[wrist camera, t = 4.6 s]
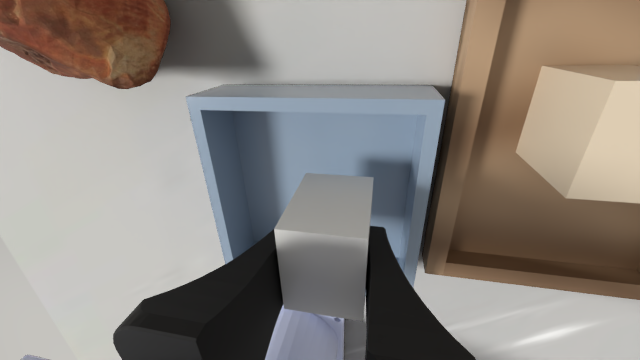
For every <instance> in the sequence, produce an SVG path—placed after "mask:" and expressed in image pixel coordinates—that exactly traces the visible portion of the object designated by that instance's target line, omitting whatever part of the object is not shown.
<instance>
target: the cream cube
mask: <svg viewBox="0 0 640 360" xmlns="http://www.w3.org/2000/svg"><path fill="white" fill-rule="evenodd" d="M516 153H517V154H518V155H519V156H520V157H521V158H522V159H523V160H525V161H526V162H527V163H528V164H529V165H530V166H531V167H532V168H533V169H534V170H535V171H537V172H538V173H539V174H540V175H541V176H542V177H543V178H544V179H545V180H546V181H547V182H549V183H550V184H551V185H552V186H553V187H554V188H555V189H556V190H557V191H558V192H559V193H561V194H562V195H563V196H564V197H565V198H569V199H584V200H598V201H612V202H627V203H640V66H635V65H559V66H542V68H541V71H540V74H539V77H538V81H537V84H536V87H535V90H534V94H533V97H532V100H531V103H530V107H529V110H528V113H527V117H526V120H525V123H524V126H523V130H522V133H521V136H520V139H519V143H518V146H517V149H516Z"/></svg>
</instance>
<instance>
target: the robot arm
mask: <svg viewBox="0 0 640 360" xmlns="http://www.w3.org/2000/svg"><path fill="white" fill-rule="evenodd" d="M366 321H367V339H366V355H365V360H476V359H475V357H474V356H473V355H472V354H471V353H469V352H468V351H467V350H466V349H465V348H464V347H463V346H462V345H461V344H460V343H459V342H458V341H457V340H456V339H455V338H454V337H453V336H452V335H451V334H450V333H449V332H448V331H447V330H446V329H445V328H444V327H443V326H442V325H441V323H440V322H439V321H438V320H437V319H436V317H435V316H434V315H433V314H432V313H431V311H430V310H429V309H428V308H427V307H426V305H425V304H424V303H423V301H422V300H421V299H420V297H419V296H418V295H417V293H416V292H415V290H414V289H413V287H412V286H411V284H410V283H409V281H408V279H407V278H406V276H405V274H404V273H403V271H402V269H401V267H400V265H399V263H398V261H397V259H396V257H395V255H394V253H393V251H392V248H391V246H390V243H389V240H388V237H387V234H386V229H385V228H384V227H378V226H370V233H369V246H368V262H367V277H366ZM113 341H114V345H115V348H116V350H117V351H118V353H119V355H120V357H121V358H122V360H344V318H338V317H332V316H325V315H319V314H313V313H307V312H301V311H295V310H289V309H284V305H283V297H282V289H281V281H280V273H279V265H278V257H277V249H276V241H275V233H274V229H273V230H272V231H271V232H270V233H268V234H267V235H266V236H265V237H263V238H262V239H261V240H260V241H259V242H257V243H256V244H255V245H253V246H252V247H251V248H249V249H248V250H247V251H245V252H244V253H242V254H241V255H239V256H238V257H236V258H235V259H233V260H232V261H230V262H228V263H227V264H225V265H223V266H222V267H220V268H218V269H216V270H214V271H212V272H210V273H208V274H206V275H205V276H203V277H201V278H198V279H196V280H194V281H192V282H190V283H187V284H185V285H183V286H180V287H178V288H175V289H173V290H170V291H167V292H164V293H161V294H159V295H156V296H153V297H150V298H147V299H144V300H143V301H142V302H141V303H140V304H139V305H138V306H137V307H136V308H135V309H134V311H133V312H132V313H131V314H130V315H129V316H128V317H127V318H126V319H125V320H124V322H123V323H122V324H121V325H120V326H119V327H118V328H117V329H116V331H115V332H114V334H113ZM21 360H49V359H45V358H41V357H36V356H32V355H25V356H24V357H23V358H22V359H21Z"/></svg>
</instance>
